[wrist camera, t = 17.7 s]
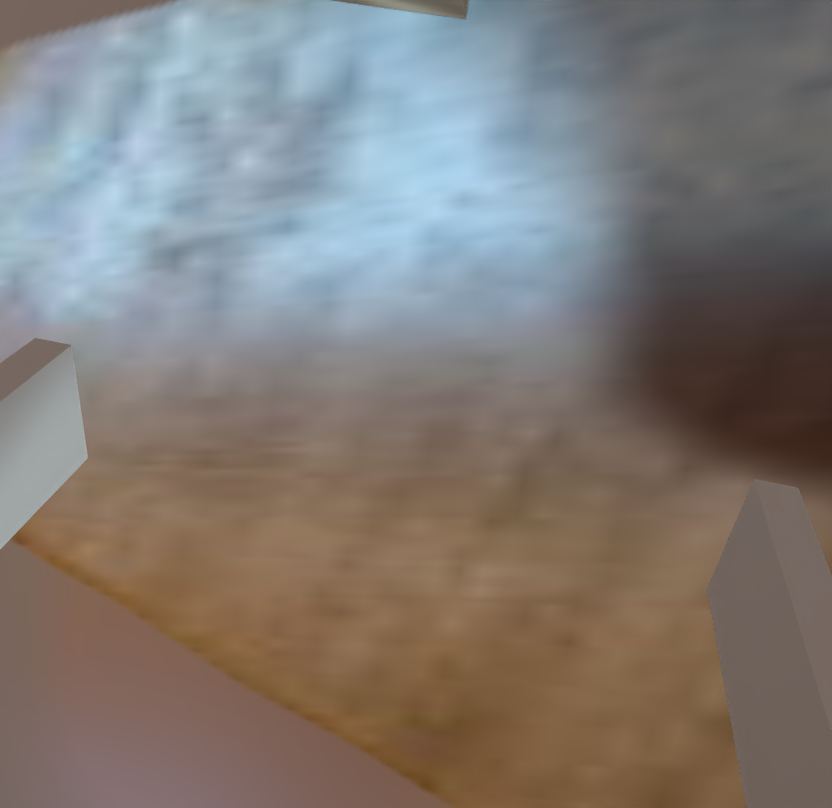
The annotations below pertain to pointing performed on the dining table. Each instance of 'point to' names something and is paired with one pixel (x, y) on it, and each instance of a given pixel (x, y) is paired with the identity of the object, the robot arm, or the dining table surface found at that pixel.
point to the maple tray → (421, 6)
